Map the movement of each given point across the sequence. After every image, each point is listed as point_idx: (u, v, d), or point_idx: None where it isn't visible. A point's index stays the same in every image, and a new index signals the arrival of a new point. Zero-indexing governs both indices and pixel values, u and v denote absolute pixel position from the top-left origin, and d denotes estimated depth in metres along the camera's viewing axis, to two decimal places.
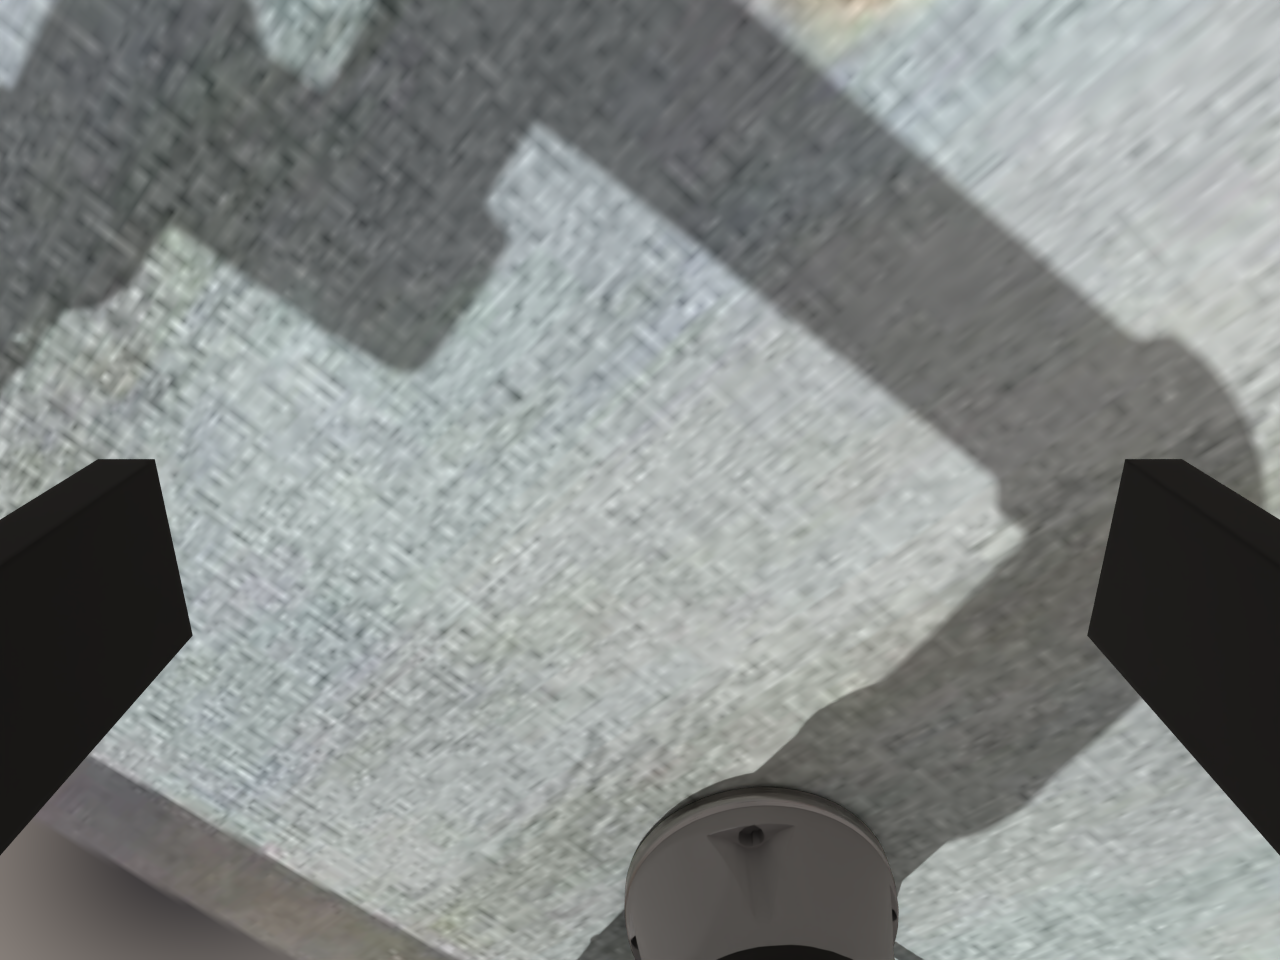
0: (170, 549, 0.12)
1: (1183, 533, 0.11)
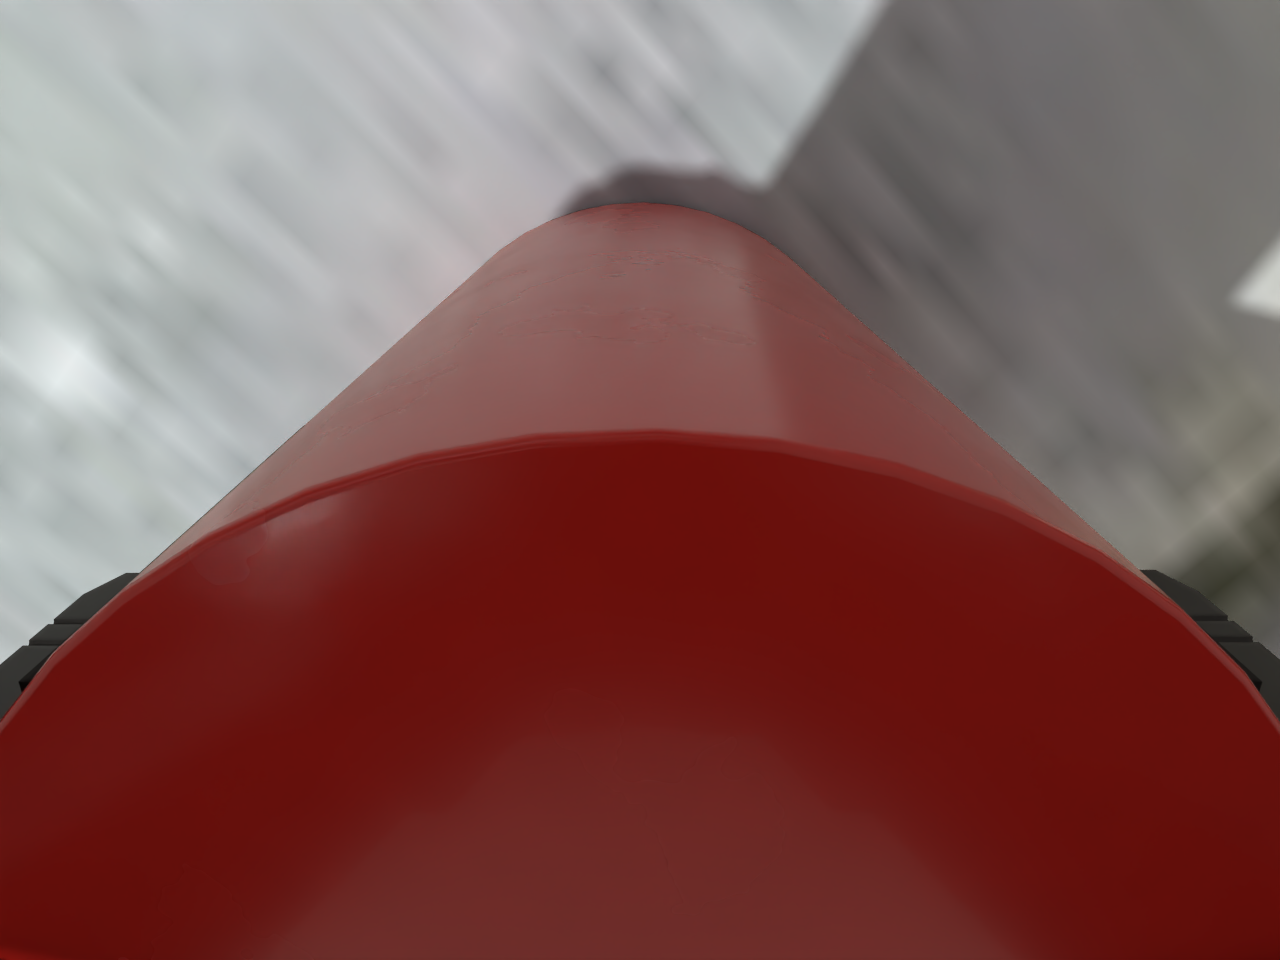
0: None
1: None
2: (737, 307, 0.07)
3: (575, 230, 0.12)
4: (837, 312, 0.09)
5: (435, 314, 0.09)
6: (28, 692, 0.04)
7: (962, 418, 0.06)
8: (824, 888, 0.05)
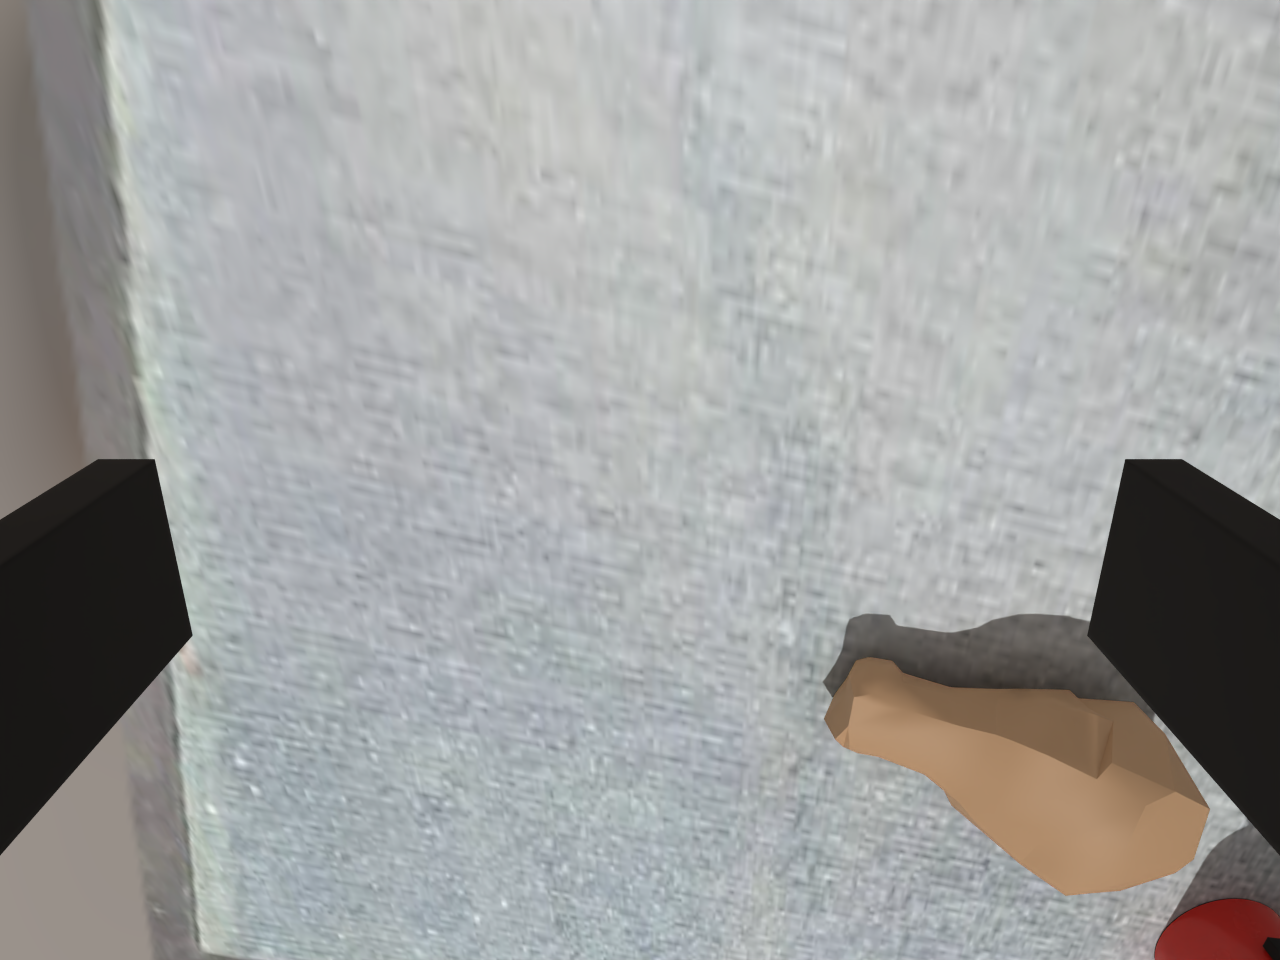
0: (170, 549, 0.12)
1: (1183, 533, 0.11)
2: None
3: (1255, 946, 0.54)
4: None
5: None
6: None
7: None
8: None
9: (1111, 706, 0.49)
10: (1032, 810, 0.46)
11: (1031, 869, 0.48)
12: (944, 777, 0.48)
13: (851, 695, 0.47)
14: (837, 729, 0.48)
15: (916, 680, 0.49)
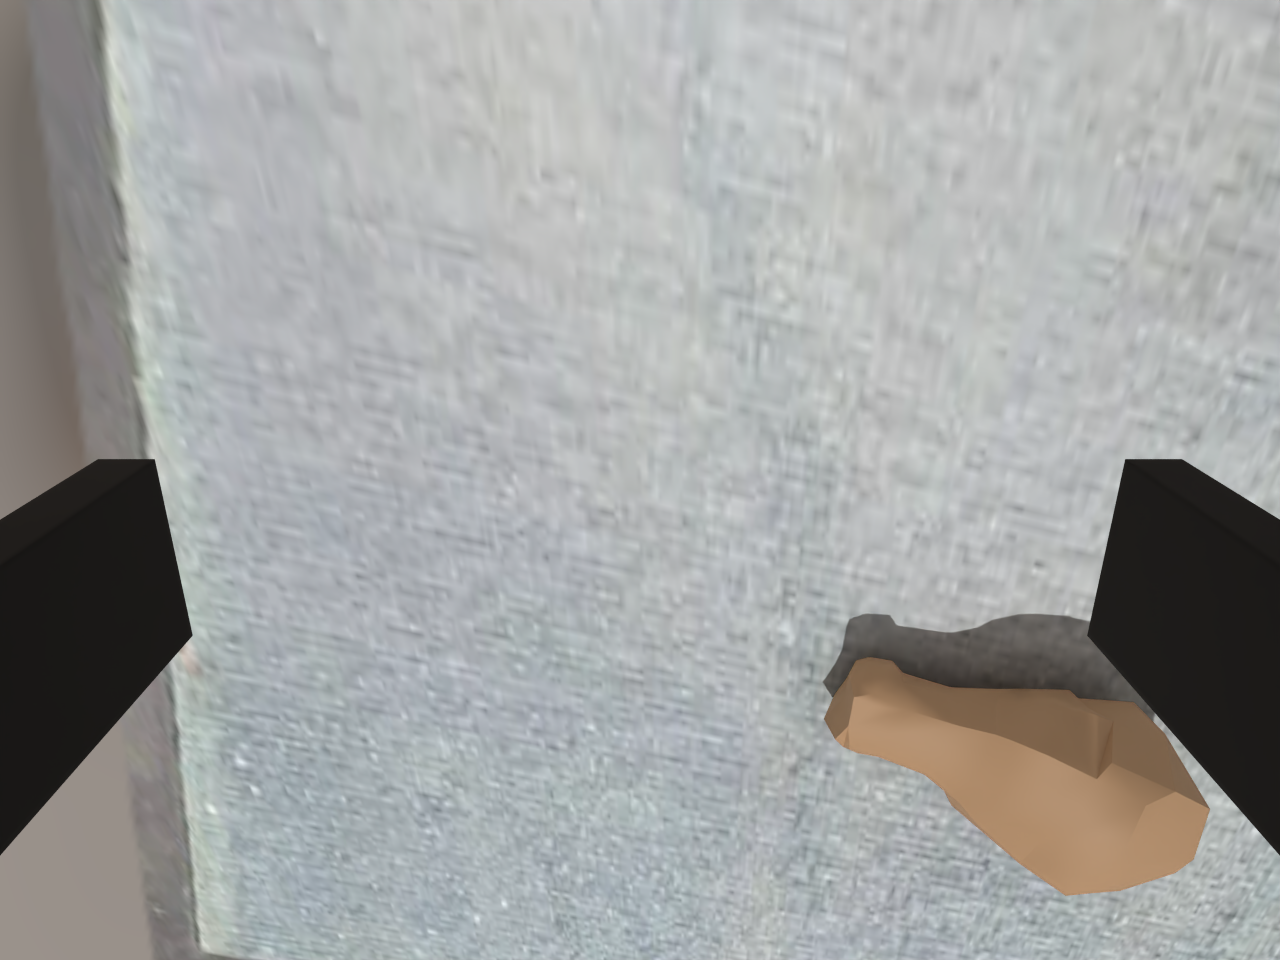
0: (170, 549, 0.12)
1: (1183, 533, 0.11)
2: None
3: None
4: None
5: None
6: None
7: None
8: None
9: (1111, 706, 0.49)
10: (1032, 810, 0.46)
11: (1031, 869, 0.48)
12: (944, 777, 0.48)
13: (851, 695, 0.47)
14: (837, 729, 0.48)
15: (916, 680, 0.49)
